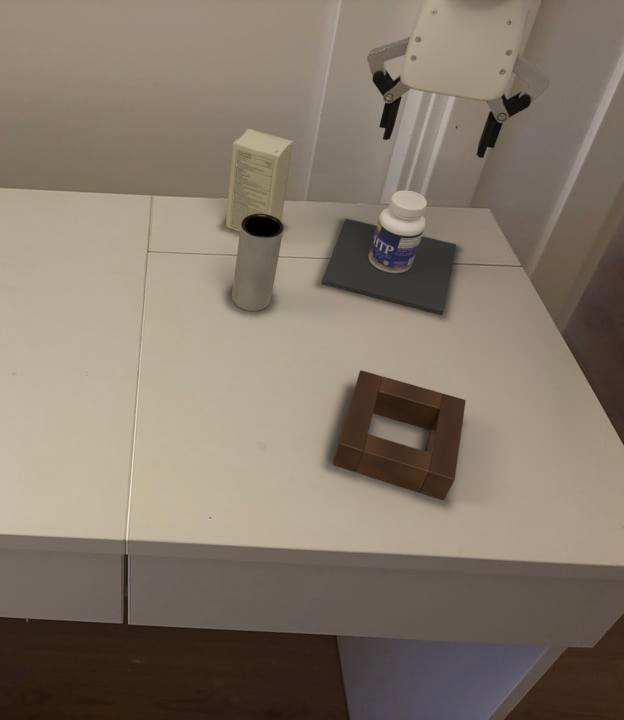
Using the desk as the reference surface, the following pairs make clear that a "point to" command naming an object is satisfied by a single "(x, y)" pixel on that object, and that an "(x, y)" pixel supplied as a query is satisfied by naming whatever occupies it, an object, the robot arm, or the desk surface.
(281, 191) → the cosmetic box
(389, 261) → the pill bottle
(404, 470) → the holder
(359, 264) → the mat
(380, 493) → the desk surface
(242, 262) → the grey hollow tube
